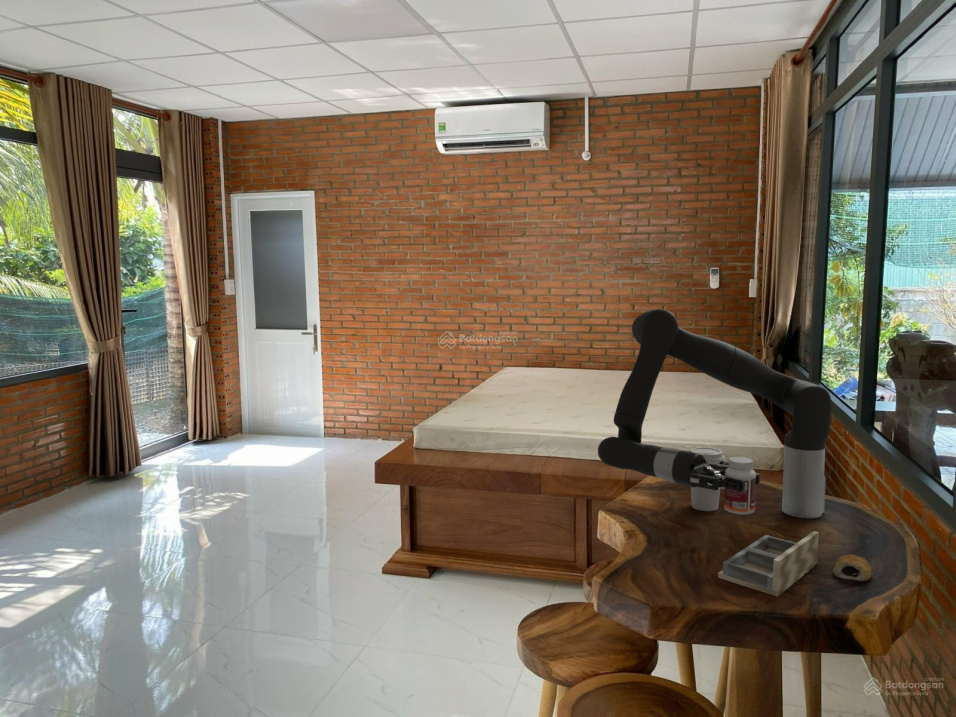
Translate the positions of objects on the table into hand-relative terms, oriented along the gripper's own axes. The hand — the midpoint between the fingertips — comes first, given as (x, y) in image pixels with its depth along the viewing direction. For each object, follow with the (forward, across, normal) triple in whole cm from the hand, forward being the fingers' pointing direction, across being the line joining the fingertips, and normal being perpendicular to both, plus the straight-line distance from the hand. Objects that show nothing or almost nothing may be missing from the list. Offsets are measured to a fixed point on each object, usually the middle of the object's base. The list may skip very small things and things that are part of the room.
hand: (751, 482), depth 146 cm
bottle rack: (+5, 0, +18) cm, 18 cm away
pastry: (+17, +10, +18) cm, 27 cm away
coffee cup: (-24, +26, +18) cm, 40 cm away
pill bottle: (-2, 0, +7) cm, 7 cm away
